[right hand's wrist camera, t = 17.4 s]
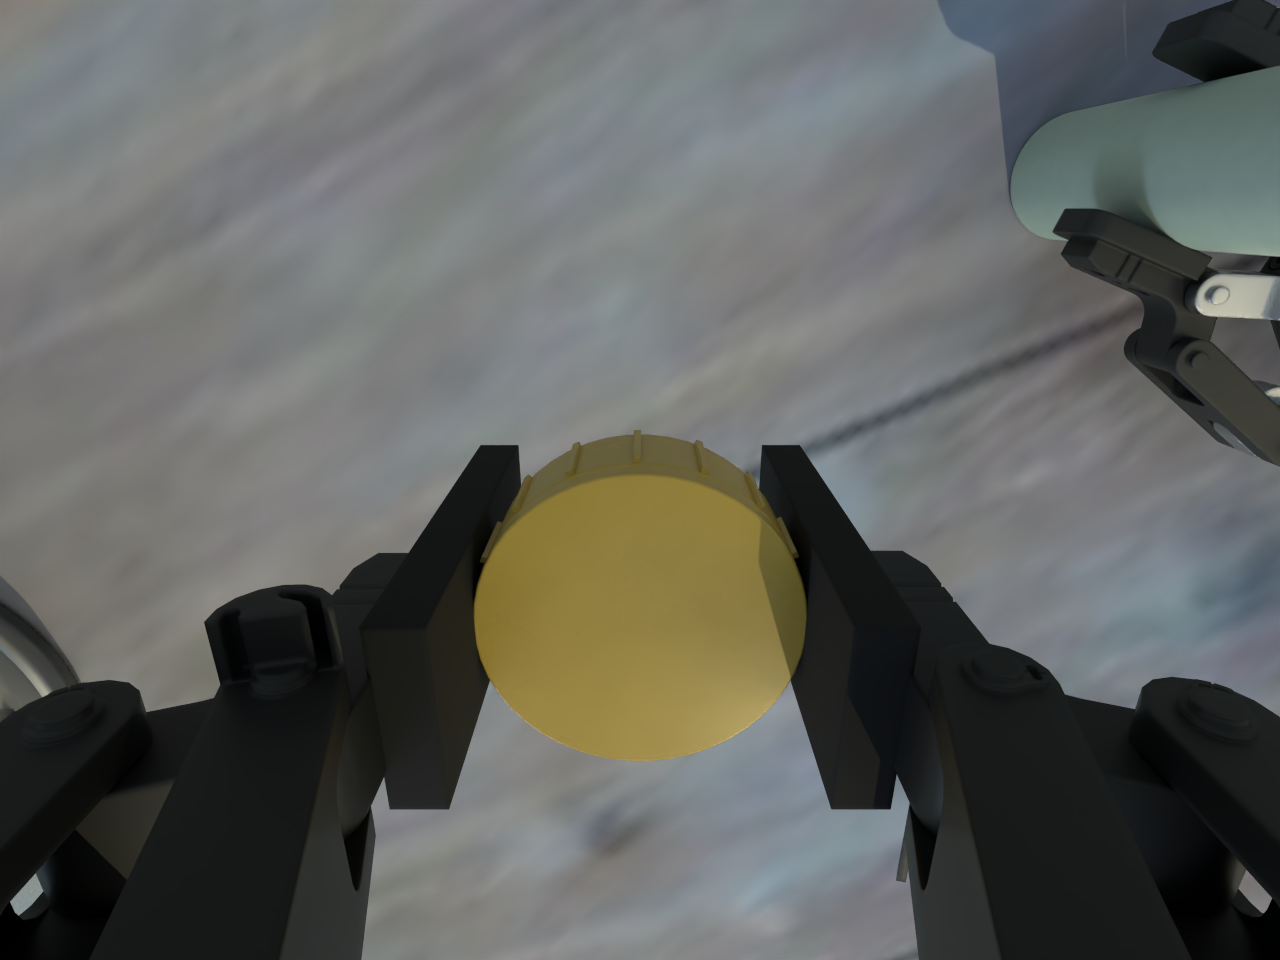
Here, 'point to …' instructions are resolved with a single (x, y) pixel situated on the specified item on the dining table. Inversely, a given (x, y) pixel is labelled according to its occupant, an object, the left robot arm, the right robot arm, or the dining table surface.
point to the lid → (640, 600)
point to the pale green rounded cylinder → (1165, 165)
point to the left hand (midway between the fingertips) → (1126, 131)
